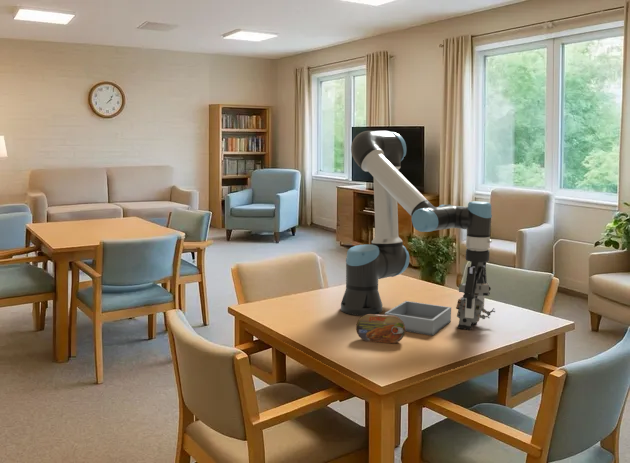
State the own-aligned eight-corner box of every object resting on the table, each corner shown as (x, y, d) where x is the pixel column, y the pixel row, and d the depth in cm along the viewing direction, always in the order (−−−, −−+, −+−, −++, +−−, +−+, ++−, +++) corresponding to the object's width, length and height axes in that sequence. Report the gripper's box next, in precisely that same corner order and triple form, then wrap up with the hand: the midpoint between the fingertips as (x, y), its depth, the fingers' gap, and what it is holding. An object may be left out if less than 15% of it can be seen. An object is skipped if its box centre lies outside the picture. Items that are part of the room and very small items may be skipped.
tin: (355, 340, 195) (356, 314, 194) (357, 337, 198) (357, 311, 197) (404, 344, 191) (405, 317, 190) (405, 341, 194) (406, 315, 193)
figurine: (488, 333, 203) (490, 288, 201) (453, 328, 209) (455, 283, 207) (494, 326, 211) (496, 282, 209) (460, 321, 217) (462, 278, 215)
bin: (384, 327, 208) (384, 312, 208) (405, 314, 224) (405, 300, 224) (432, 335, 200) (433, 320, 200) (450, 321, 216) (451, 307, 216)
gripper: (479, 255, 194) (475, 323, 197) (498, 244, 215) (495, 306, 218) (455, 253, 198) (452, 320, 201) (476, 242, 218) (473, 303, 222)
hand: (474, 313), depth 209 cm, fingers open, 12 cm apart
